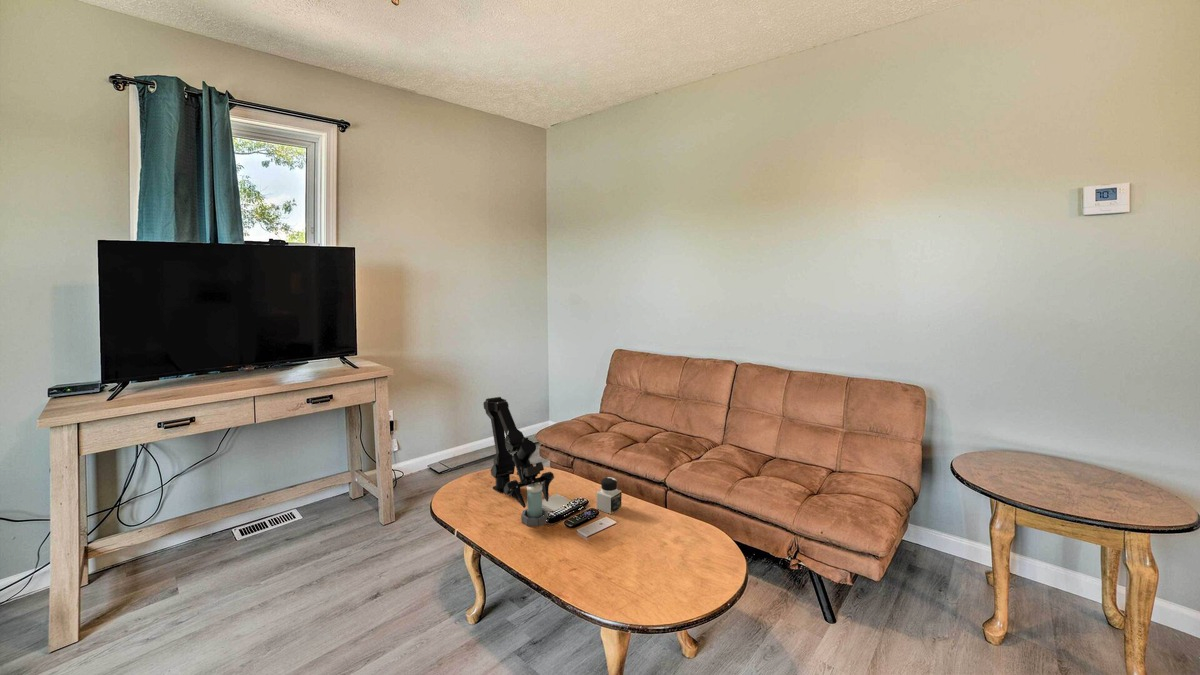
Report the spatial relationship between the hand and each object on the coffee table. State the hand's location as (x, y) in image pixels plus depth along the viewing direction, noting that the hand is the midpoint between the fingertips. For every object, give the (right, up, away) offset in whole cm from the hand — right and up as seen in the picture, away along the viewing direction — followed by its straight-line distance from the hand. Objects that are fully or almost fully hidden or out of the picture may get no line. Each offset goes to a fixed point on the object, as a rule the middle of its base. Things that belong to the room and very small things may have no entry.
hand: (536, 504), depth 180 cm
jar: (-1, -6, +2) cm, 7 cm away
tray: (+8, -5, +12) cm, 15 cm away
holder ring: (-1, -6, +2) cm, 7 cm away
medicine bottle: (+27, -6, +11) cm, 30 cm away
